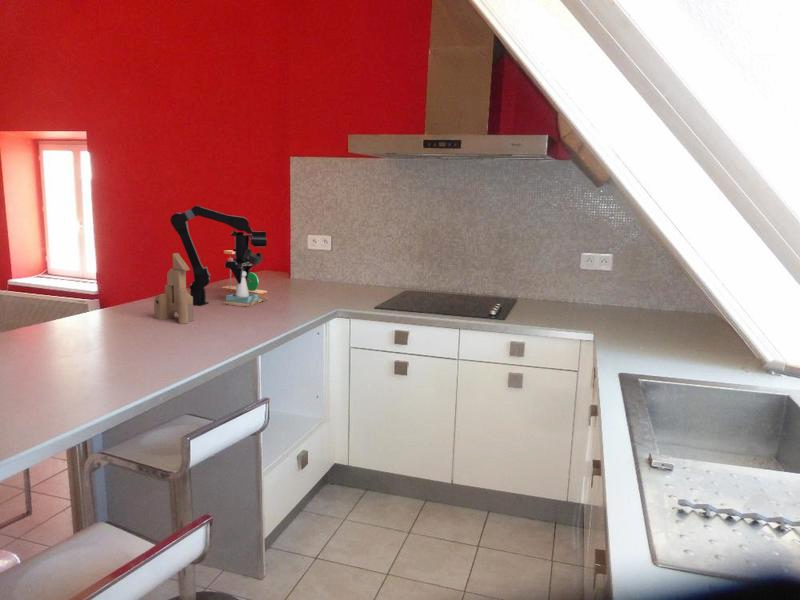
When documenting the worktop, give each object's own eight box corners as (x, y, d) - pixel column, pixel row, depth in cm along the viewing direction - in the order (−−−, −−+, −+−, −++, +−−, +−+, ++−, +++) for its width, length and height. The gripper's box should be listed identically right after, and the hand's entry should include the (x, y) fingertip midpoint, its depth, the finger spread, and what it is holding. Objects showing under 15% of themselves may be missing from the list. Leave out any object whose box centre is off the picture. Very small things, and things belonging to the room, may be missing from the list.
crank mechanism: (220, 289, 284) (219, 250, 281) (229, 288, 290) (229, 249, 287) (259, 295, 273) (259, 255, 269) (268, 294, 278) (268, 254, 275)
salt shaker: (244, 298, 257) (243, 269, 254) (252, 300, 253) (251, 271, 251) (232, 300, 252) (231, 271, 250) (240, 302, 249) (239, 272, 246)
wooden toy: (153, 319, 218) (150, 252, 213) (167, 315, 223) (165, 251, 219) (183, 324, 211) (181, 256, 206) (197, 321, 217) (195, 254, 212)
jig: (248, 307, 246) (248, 298, 245) (222, 304, 249) (222, 296, 248) (268, 300, 263) (268, 291, 262) (244, 297, 266) (244, 289, 265)
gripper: (248, 249, 238) (248, 287, 240) (269, 246, 255) (269, 281, 258) (223, 247, 240) (224, 285, 243) (246, 244, 258) (246, 279, 261)
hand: (242, 282), depth 251 cm, fingers open, 4 cm apart
